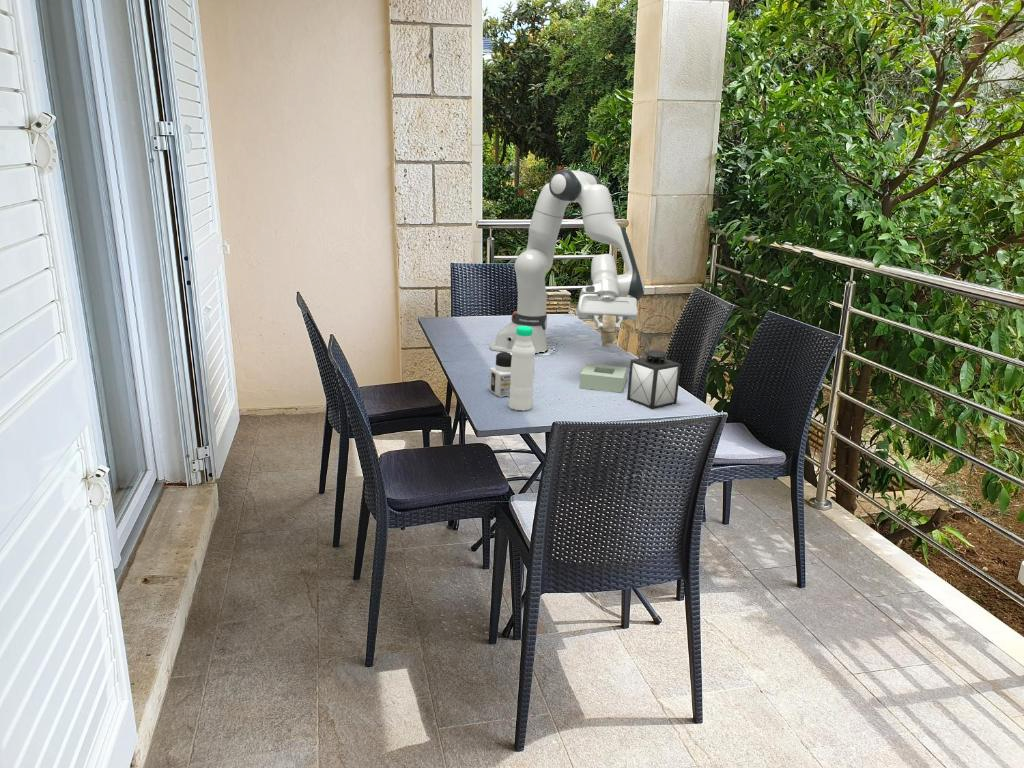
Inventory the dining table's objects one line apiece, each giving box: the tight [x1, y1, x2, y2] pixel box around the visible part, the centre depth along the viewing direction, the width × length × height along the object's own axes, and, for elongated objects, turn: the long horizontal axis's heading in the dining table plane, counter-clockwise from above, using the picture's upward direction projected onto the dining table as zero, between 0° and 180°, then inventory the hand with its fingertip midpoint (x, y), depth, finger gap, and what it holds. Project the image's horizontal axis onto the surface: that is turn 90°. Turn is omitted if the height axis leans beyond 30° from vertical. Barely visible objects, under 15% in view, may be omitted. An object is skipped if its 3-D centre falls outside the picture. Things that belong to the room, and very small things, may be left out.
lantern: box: [626, 314, 682, 410], centre depth 250 cm, size 11×11×28 cm
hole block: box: [579, 362, 628, 394], centre depth 269 cm, size 14×14×5 cm
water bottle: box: [508, 326, 536, 411], centre depth 238 cm, size 7×7×25 cm
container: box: [488, 351, 512, 398], centre depth 254 cm, size 8×8×13 cm
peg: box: [600, 315, 617, 348], centre depth 263 cm, size 4×4×10 cm
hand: (608, 328), depth 263 cm, fingers closed on peg, 4 cm apart
